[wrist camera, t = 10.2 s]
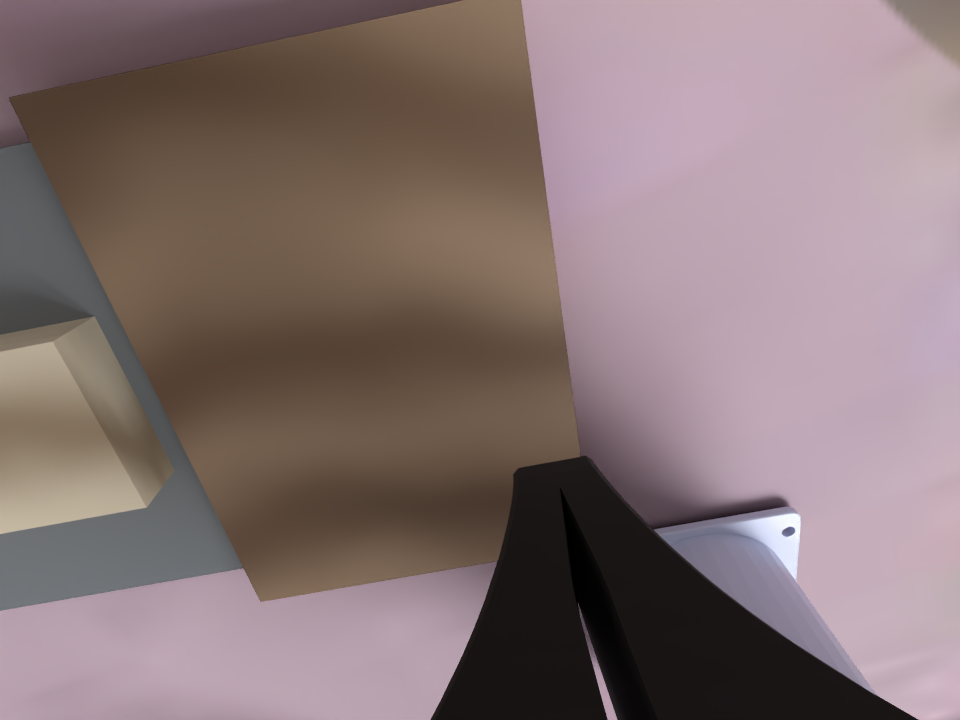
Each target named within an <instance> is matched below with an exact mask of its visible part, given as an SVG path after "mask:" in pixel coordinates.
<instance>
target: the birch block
mask: <svg viewBox="0 0 960 720" xmlns="http://www.w3.org/2000/svg"><path fill="white" fill-rule="evenodd" d="M174 471H175V470H174V468H173V466H172V464H171V462H170V460H169V458H168V457H167V455H166V453H165V451H164V449H163V447H162V445H161V443H160V441H159V439H158V437H157V435H156V433H155V432H154V430H153V428H152V426H151V424H150V422H149V420H148V418H147V416H146V414H145V412H144V410H143V408H142V407H141V405H140V403H139V401H138V399H137V397H136V395H135V393H134V391H133V389H132V387H131V385H130V383H129V381H128V380H127V378H126V376H125V374H124V372H123V370H122V368H121V366H120V364H119V362H118V360H117V358H116V356H115V355H114V353H113V351H112V349H111V347H110V345H109V343H108V341H107V339H106V337H105V335H104V333H103V331H102V330H101V328H100V326H99V324H98V322H97V320H96V318H95V316H94V317H89V318H84V319H79V320H73V321H68V322H63V323H58V324H53V325H48V326H43V327H38V328H33V329H28V330H22V331H17V332H12V333H7V334H2V335H0V534H3V533H9V532H14V531H20V530H25V529H31V528H36V527H42V526H47V525H53V524H59V523H64V522H70V521H75V520H81V519H86V518H92V517H97V516H103V515H108V514H114V513H119V512H125V511H131V510H136V509H142V508H147V507H148V505H149V504H150V503H151V501H152V500H153V499H154V497H155V496H156V495H157V493H158V492H159V491H160V489H161V488H162V487H163V485H164V484H165V483H166V481H167V480H168V479H169V477H170V476H171V475H172V473H173V472H174Z"/></svg>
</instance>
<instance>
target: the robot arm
mask: <svg viewBox="0 0 960 720" xmlns="http://www.w3.org/2000/svg"><path fill="white" fill-rule="evenodd" d="M787 527H788V528H787ZM800 527H801V516H800V515H799V513H798V512H797V511H796V510H795V509H794V508H792V507H781V508H775V509H769V510H764V511H758V512H752V513H746V514H740V515H735V516H729V517H723V518H717V519H711V520H706V521H700V522H694V523H688V524H682V525H677V526H671V527H665V528H659V529H652V528H651V527H650V526H649V525H648V524H647V523H646V522H645V521H644V520H643V519H642V518H641V517H640V516H639V515H638V514H637V513H636V512H635V511H634V509H633V508H632V507H631V506H630V505H629V504H628V503H627V502H626V501H625V500H624V499H623V498H622V497H621V495H620V494H619V493H618V492H617V491H616V490H615V489H614V488H613V486H612V485H611V484H610V483H609V482H608V481H607V479H606V478H605V477H604V476H603V474H602V473H601V472H600V471H599V469H598V468H597V467H596V465H595V464H594V462H593V461H592V460H591V459H589V458H588V457H586V456H582V457H576V458H571V459H565V460H560V461H554V462H549V463H543V464H537V465H532V466H526V467H521V468H518V469H517V470H516V471H515V473H514V474H513V494H512V502H511V508H510V513H509V518H508V523H507V527H506V531H505V535H504V539H503V543H502V547H501V551H500V555H499V559H498V562H497V565H496V568H495V571H494V574H493V577H492V580H491V583H490V586H489V589H488V592H487V595H486V598H485V601H484V604H483V607H482V609H481V612H480V614H479V617H478V620H477V622H476V625H475V627H474V630H473V632H472V634H471V637H470V639H469V641H468V644H467V646H466V648H465V651H464V653H463V655H462V657H461V660H460V662H459V664H458V666H457V668H456V670H455V672H454V674H453V676H452V678H451V680H450V682H449V684H448V687H447V689H446V691H445V693H444V695H443V697H442V699H441V701H440V703H439V705H438V707H437V709H436V710H435V712H434V714H433V716H432V718H431V720H607V716H606V713H605V709H604V706H603V702H602V698H601V694H600V691H599V687H598V683H597V679H596V676H595V672H594V668H593V665H592V661H591V657H590V653H589V650H588V646H587V642H586V638H585V634H584V631H583V627H582V623H581V619H580V615H579V607H578V603H579V606H580V609H581V612H582V615H583V618H584V621H585V624H586V627H587V630H588V633H589V636H590V639H591V642H592V645H593V648H594V651H595V654H596V657H597V660H598V663H599V666H600V669H601V672H602V675H603V678H604V681H605V684H606V687H607V690H608V693H609V696H610V698H611V701H612V704H613V707H614V710H615V713H616V716H617V719H618V720H918V719H916V718H914V717H913V716H911V715H909V714H908V713H906V712H904V711H902V710H901V709H899V708H897V707H896V706H894V705H892V704H890V703H889V702H887V701H885V700H884V699H882V698H880V697H878V696H877V694H876V693H875V692H874V690H873V689H872V687H871V686H870V685H869V683H868V682H867V680H866V679H865V677H864V676H863V675H862V673H861V672H860V670H859V669H858V668H857V666H856V665H855V663H854V662H853V661H852V659H851V658H850V656H849V655H848V654H847V652H846V651H845V649H844V648H843V647H842V645H841V644H840V642H839V641H838V639H837V638H836V637H835V635H834V634H833V632H832V631H831V630H830V628H829V627H828V625H827V624H826V623H825V621H824V620H823V618H822V617H821V616H820V614H819V613H818V611H817V610H816V609H815V607H814V606H813V604H812V603H811V602H810V600H809V599H808V597H807V596H806V594H805V593H804V592H803V590H802V589H801V587H800V586H799V585H798V583H797V582H796V576H797V563H798V551H799V539H800ZM785 528H786V529H785Z"/></svg>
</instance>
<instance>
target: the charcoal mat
mask: <svg viewBox="0 0 960 720" xmlns="http://www.w3.org/2000/svg"><path fill="white" fill-rule="evenodd" d="M94 316H95V318H96V320H97V322H98V324H99V326H100V328H101V330H102V331H103V333H104V335H105V337H106V339H107V341H108V343H109V345H110V347H111V349H112V351H113V353H114V355H115V356H116V358H117V360H118V362H119V364H120V366H121V368H122V370H123V372H124V374H125V376H126V378H127V380H128V381H129V383H130V385H131V387H132V389H133V391H134V393H135V395H136V397H137V399H138V401H139V403H140V405H141V407H142V408H143V410H144V412H145V414H146V416H147V418H148V420H149V422H150V424H151V426H152V428H153V430H154V432H155V433H156V435H157V437H158V439H159V441H160V443H161V445H162V447H163V449H164V451H165V453H166V455H167V457H168V458H169V460H170V462H171V464H172V466H173V468H174V470H175V471H174V472H173V473H172V475H171V476H170V477H169V479H168V480H167V481H166V483H165V484H164V485H163V487H162V488H161V489H160V491H159V492H158V493H157V495H156V496H155V497H154V499H153V500H152V501H151V503H150V504H149V505H148V507H147V508H142V509H136V510H131V511H125V512H119V513H114V514H108V515H103V516H97V517H92V518H86V519H81V520H75V521H70V522H64V523H59V524H53V525H47V526H42V527H36V528H31V529H25V530H20V531H14V532H9V533H3V534H0V611H1V610H7V609H12V608H18V607H24V606H29V605H35V604H41V603H47V602H52V601H58V600H64V599H69V598H75V597H81V596H87V595H92V594H98V593H104V592H110V591H115V590H121V589H127V588H132V587H138V586H144V585H150V584H155V583H161V582H167V581H173V580H178V579H184V578H190V577H195V576H201V575H207V574H213V573H218V572H224V571H230V570H235V569H241V568H243V566H242V564H241V562H240V560H239V558H238V556H237V554H236V552H235V550H234V548H233V546H232V544H231V542H230V540H229V538H228V536H227V534H226V532H225V530H224V528H223V526H222V524H221V522H220V520H219V518H218V516H217V514H216V512H215V510H214V508H213V506H212V504H211V502H210V500H209V498H208V496H207V494H206V492H205V490H204V488H203V486H202V484H201V482H200V480H199V478H198V476H197V474H196V472H195V470H194V468H193V466H192V464H191V462H190V460H189V458H188V456H187V454H186V452H185V450H184V448H183V446H182V444H181V442H180V440H179V438H178V436H177V434H176V432H175V430H174V428H173V426H172V424H171V422H170V420H169V418H168V416H167V414H166V412H165V410H164V408H163V406H162V404H161V402H160V400H159V398H158V396H157V394H156V392H155V390H154V388H153V386H152V384H151V382H150V380H149V378H148V376H147V374H146V372H145V370H144V368H143V366H142V364H141V362H140V360H139V358H138V356H137V354H136V352H135V350H134V348H133V346H132V344H131V342H130V340H129V338H128V336H127V334H126V332H125V330H124V328H123V326H122V324H121V322H120V320H119V318H118V316H117V314H116V312H115V310H114V308H113V306H112V304H111V302H110V300H109V298H108V296H107V294H106V292H105V290H104V288H103V286H102V284H101V282H100V280H99V278H98V276H97V274H96V272H95V270H94V268H93V266H92V264H91V262H90V260H89V258H88V256H87V254H86V252H85V250H84V248H83V246H82V244H81V242H80V240H79V238H78V236H77V234H76V232H75V230H74V228H73V226H72V224H71V222H70V220H69V218H68V216H67V214H66V212H65V210H64V208H63V206H62V204H61V202H60V200H59V198H58V196H57V194H56V192H55V190H54V188H53V186H52V184H51V182H50V180H49V178H48V176H47V174H46V172H45V170H44V168H43V166H42V164H41V162H40V160H39V158H38V156H37V154H36V152H35V150H34V148H33V146H32V144H31V142H29V143H24V144H19V145H14V146H10V147H5V148H0V335H2V334H7V333H12V332H17V331H22V330H28V329H33V328H38V327H43V326H48V325H53V324H58V323H63V322H68V321H73V320H79V319H84V318H89V317H94Z"/></svg>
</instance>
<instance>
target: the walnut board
mask: <svg viewBox="0 0 960 720" xmlns="http://www.w3.org/2000/svg"><path fill="white" fill-rule="evenodd" d="M9 100H10V102H11V104H12V106H13V108H14V110H15V112H16V114H17V116H18V118H19V120H20V122H21V124H22V126H23V128H24V130H25V132H26V134H27V136H28V138H29V140H30V142H31V144H32V146H33V148H34V150H35V152H36V154H37V156H38V158H39V160H40V162H41V164H42V166H43V168H44V170H45V172H46V174H47V176H48V178H49V180H50V182H51V184H52V186H53V188H54V190H55V192H56V194H57V196H58V198H59V200H60V202H61V204H62V206H63V208H64V210H65V212H66V214H67V216H68V218H69V220H70V222H71V224H72V226H73V228H74V230H75V232H76V234H77V236H78V238H79V240H80V242H81V244H82V246H83V248H84V250H85V252H86V254H87V256H88V258H89V260H90V262H91V264H92V266H93V268H94V270H95V272H96V274H97V276H98V278H99V280H100V282H101V284H102V286H103V288H104V290H105V292H106V294H107V296H108V298H109V300H110V302H111V304H112V306H113V308H114V310H115V312H116V314H117V316H118V318H119V320H120V322H121V324H122V326H123V328H124V330H125V332H126V334H127V336H128V338H129V340H130V342H131V344H132V346H133V348H134V350H135V352H136V354H137V356H138V358H139V360H140V362H141V364H142V366H143V368H144V370H145V372H146V374H147V376H148V378H149V380H150V382H151V384H152V386H153V388H154V390H155V392H156V394H157V396H158V398H159V400H160V402H161V404H162V406H163V408H164V410H165V412H166V414H167V416H168V418H169V420H170V422H171V424H172V426H173V428H174V430H175V432H176V434H177V436H178V438H179V440H180V442H181V444H182V446H183V448H184V450H185V452H186V454H187V456H188V458H189V460H190V462H191V464H192V466H193V468H194V470H195V472H196V474H197V476H198V478H199V480H200V482H201V484H202V486H203V488H204V490H205V492H206V494H207V496H208V498H209V500H210V502H211V504H212V506H213V508H214V510H215V512H216V514H217V516H218V518H219V520H220V522H221V524H222V526H223V528H224V530H225V532H226V534H227V536H228V538H229V540H230V542H231V544H232V546H233V548H234V550H235V552H236V554H237V556H238V558H239V560H240V562H241V564H242V566H243V568H244V570H245V572H246V574H247V576H248V578H249V580H250V582H251V584H252V586H253V588H254V590H255V592H256V594H257V596H258V598H259V600H260V602H262V601H268V600H274V599H280V598H286V597H291V596H297V595H303V594H309V593H315V592H320V591H326V590H332V589H338V588H344V587H350V586H355V585H361V584H367V583H373V582H379V581H384V580H390V579H396V578H402V577H408V576H414V575H419V574H425V573H431V572H437V571H443V570H448V569H454V568H460V567H466V566H472V565H477V564H483V563H489V562H495V561H498V559H499V555H500V551H501V547H502V543H503V539H504V535H505V531H506V527H507V523H508V518H509V513H510V508H511V502H512V494H513V474H514V473H515V471H516V470H517V469H518V468H521V467H526V466H532V465H537V464H543V463H549V462H554V461H560V460H565V459H571V458H576V457H581V456H580V448H579V440H578V433H577V425H576V417H575V410H574V402H573V395H572V387H571V379H570V372H569V364H568V356H567V349H566V341H565V333H564V326H563V318H562V310H561V303H560V295H559V287H558V280H557V272H556V264H555V257H554V249H553V242H552V234H551V226H550V219H549V211H548V203H547V196H546V188H545V180H544V173H543V165H542V157H541V150H540V142H539V134H538V127H537V119H536V112H535V104H534V96H533V89H532V81H531V73H530V66H529V58H528V50H527V43H526V35H525V27H524V20H523V12H522V4H521V0H462V1H458V2H453V3H448V4H444V5H439V6H434V7H430V8H425V9H420V10H416V11H411V12H406V13H402V14H397V15H392V16H387V17H383V18H378V19H373V20H369V21H364V22H359V23H355V24H350V25H345V26H341V27H336V28H331V29H327V30H322V31H317V32H313V33H308V34H303V35H299V36H294V37H289V38H285V39H280V40H275V41H271V42H266V43H261V44H257V45H252V46H247V47H243V48H238V49H233V50H229V51H224V52H219V53H214V54H210V55H205V56H200V57H196V58H191V59H186V60H182V61H177V62H172V63H168V64H163V65H158V66H154V67H149V68H144V69H140V70H135V71H130V72H126V73H121V74H116V75H112V76H107V77H102V78H98V79H93V80H88V81H84V82H79V83H74V84H70V85H65V86H60V87H55V88H51V89H46V90H41V91H37V92H32V93H27V94H23V95H18V96H13V97H9Z"/></svg>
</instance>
